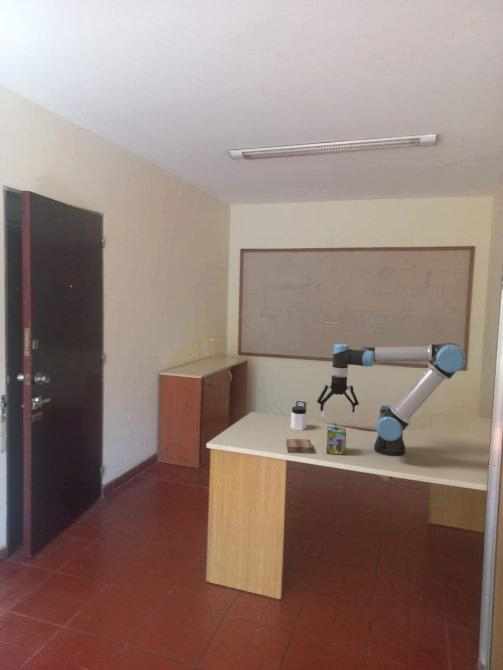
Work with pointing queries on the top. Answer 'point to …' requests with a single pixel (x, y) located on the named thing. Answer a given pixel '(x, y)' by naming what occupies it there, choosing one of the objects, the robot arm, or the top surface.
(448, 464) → the top surface
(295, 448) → the block
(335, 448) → the chalk box
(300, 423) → the jar
